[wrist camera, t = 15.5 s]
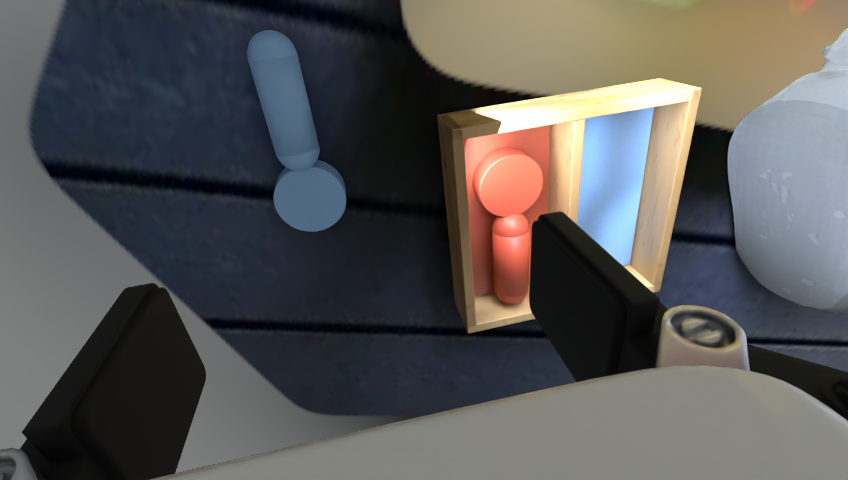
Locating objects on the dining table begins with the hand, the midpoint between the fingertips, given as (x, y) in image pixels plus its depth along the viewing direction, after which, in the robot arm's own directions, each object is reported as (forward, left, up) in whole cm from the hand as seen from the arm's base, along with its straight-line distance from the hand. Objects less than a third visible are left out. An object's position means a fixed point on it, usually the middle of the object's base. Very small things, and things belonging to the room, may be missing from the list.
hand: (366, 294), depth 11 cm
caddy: (+12, -6, -14) cm, 19 cm away
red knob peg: (+9, -7, -13) cm, 17 cm away
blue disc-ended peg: (-3, +1, -14) cm, 14 cm away
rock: (+31, -6, -14) cm, 34 cm away
